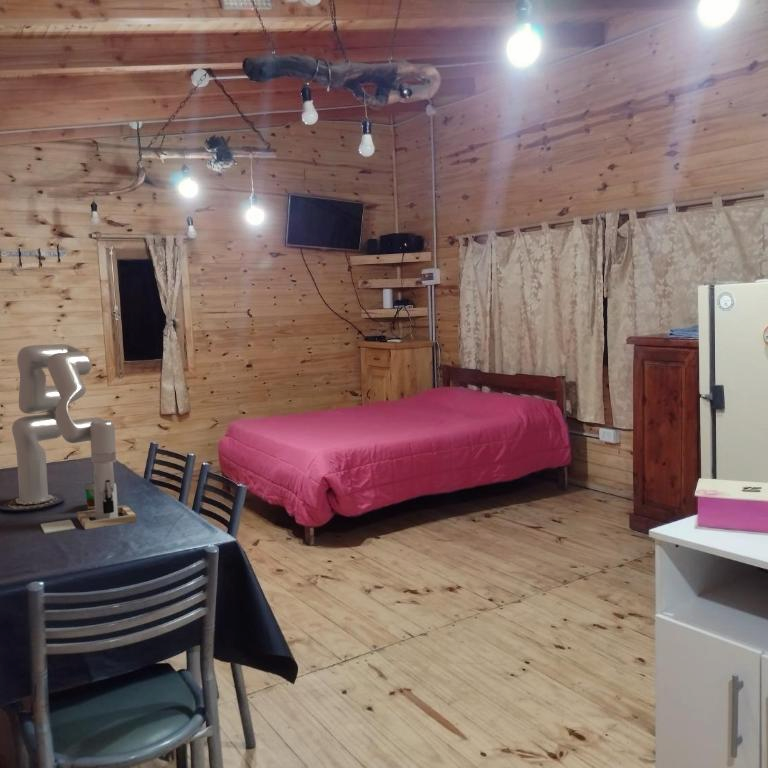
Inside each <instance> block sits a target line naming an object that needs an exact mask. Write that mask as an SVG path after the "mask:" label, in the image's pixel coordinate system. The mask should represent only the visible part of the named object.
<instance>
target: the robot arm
mask: <svg viewBox="0 0 768 768" xmlns="http://www.w3.org/2000/svg"><path fill="white" fill-rule="evenodd" d="M16 360H17V361H16V362H17V368H18V370H19V371H18V372H19V389H18V390H19V391H18V408H19V410H20V411H21V413H24V414H26V416H22V417H19V418H17V419H16V420H14V421H13V423H12V427H11V432H12V436H13V440H14V444H15V451H16V460H17V461H16V462H17V464H16V465H17V479H18V493H19V495H18V496H19V497H17V498H16V499H15V500H18V499H19V500H21V501H24V502H26V503H30V502H35V501H36V502H40V501H45V500H49V499H52V498H53V499H54V497H53V495H52V494H49V491H48V490H49V488H48V470H47V469H48V468H47V455H46V451H45V449H44V448H43V446H41V444H40V443H39V442H41V441H42V442H43V441H48V440H54V439H57V438H60V436H62V438H63V439H64V440H65V441H66V442H67V443H68V444H69V443H70V444H75V443H76V444H77V443H83V442H90V455H91V464H93V465H94V467H93V477H94V478H93V482H94V485H96V491H97V492H98V493H99V494H101V493H103V499H104V501H103V513H104V514H106V513H113V512H114V503H113V495H112V492H113V491H114V484H115V474H114V473H115V471H114V463H116V462H117V455H116V454H117V452H116V435H115V434H116V431H115V423H114V421H112V420H111V419H103V418H101V417H95V416H94V417H88V418H86V417H85V418H81V419H72V417H71V414H70V410H69V405H70V404H72V403H74V402H76V401H77V400H79V399H81V398H82V397H83V396H84V395H85V393H86V392H87V389H86V386H85V384H84V381H83V378H82V377H81V376H85V375H87V374H89V373H90V372H91V370H92V361H91V358H90V356H89V355H88V354H87V353H86V352H85V351H83V350H81V349H79V348H76V347H74V346H72V345H69V344H65V343H63V344H61V343H59V344H34V345H28V346H24V347H22V348H21V349H20V350H19V352H18V353H17V359H16ZM45 369H48V372H49V373H50V377H51V379H52V381H53V383H54V385H46V383H47V375H46V373H45V371H44V370H45ZM41 413H44V414H41ZM45 413H46V414H45ZM27 414H28V415H27ZM29 414H35V415H29ZM36 414H37V415H36ZM105 485H106V486H105ZM112 488H113V489H112ZM106 490H107V492H104V491H106ZM105 494H107V495H106V497H105ZM53 499H52V500H53Z"/></svg>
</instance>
